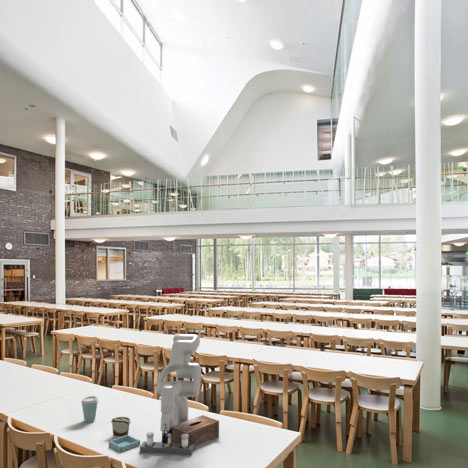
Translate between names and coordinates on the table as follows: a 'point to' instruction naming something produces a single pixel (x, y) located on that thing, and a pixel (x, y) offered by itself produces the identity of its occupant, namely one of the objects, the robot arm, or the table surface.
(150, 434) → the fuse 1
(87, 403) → the disposable coffee cup
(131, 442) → the tray
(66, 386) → the table surface
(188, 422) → the tissue box cover
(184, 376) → the robot arm
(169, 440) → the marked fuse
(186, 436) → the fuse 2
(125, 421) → the food container
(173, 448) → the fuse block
